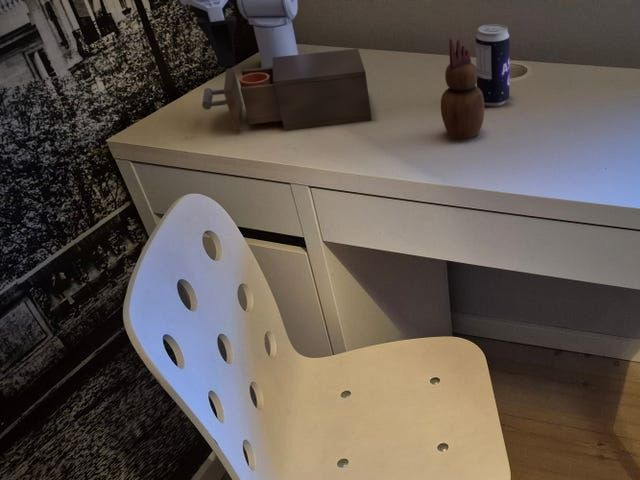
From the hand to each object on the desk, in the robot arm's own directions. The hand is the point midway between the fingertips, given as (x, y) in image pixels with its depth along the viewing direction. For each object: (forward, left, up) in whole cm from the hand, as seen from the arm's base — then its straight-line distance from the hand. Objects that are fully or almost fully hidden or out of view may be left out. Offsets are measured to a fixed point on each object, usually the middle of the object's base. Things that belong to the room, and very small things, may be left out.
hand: (224, 58), depth 107 cm
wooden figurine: (+16, +35, -11) cm, 40 cm away
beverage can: (+4, +43, -11) cm, 45 cm away
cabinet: (0, +14, -10) cm, 18 cm away
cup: (0, +4, -8) cm, 9 cm away
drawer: (0, +4, -10) cm, 10 cm away
